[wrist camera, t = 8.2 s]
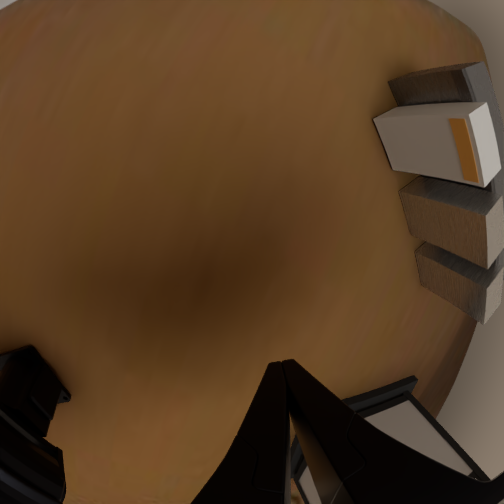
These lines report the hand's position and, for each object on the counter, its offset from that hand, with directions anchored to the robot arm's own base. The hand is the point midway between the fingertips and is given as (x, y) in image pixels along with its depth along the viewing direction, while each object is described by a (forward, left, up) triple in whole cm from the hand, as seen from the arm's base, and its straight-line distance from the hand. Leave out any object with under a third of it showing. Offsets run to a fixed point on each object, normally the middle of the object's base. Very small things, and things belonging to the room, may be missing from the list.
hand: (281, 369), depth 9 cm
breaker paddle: (+16, +5, -11) cm, 20 cm away
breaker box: (+19, 0, -11) cm, 22 cm away
